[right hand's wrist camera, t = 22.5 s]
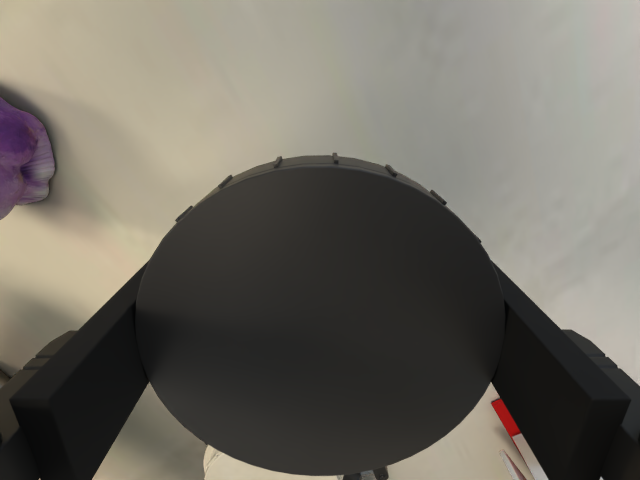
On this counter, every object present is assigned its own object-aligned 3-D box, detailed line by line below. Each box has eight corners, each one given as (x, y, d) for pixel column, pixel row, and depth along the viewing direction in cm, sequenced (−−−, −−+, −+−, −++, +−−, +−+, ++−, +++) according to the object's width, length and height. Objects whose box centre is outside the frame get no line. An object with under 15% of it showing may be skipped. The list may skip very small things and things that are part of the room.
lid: (216, 454, 14) (204, 498, 13) (102, 194, 11) (65, 212, 9) (490, 411, 14) (512, 452, 12) (472, 114, 10) (500, 118, 8)
